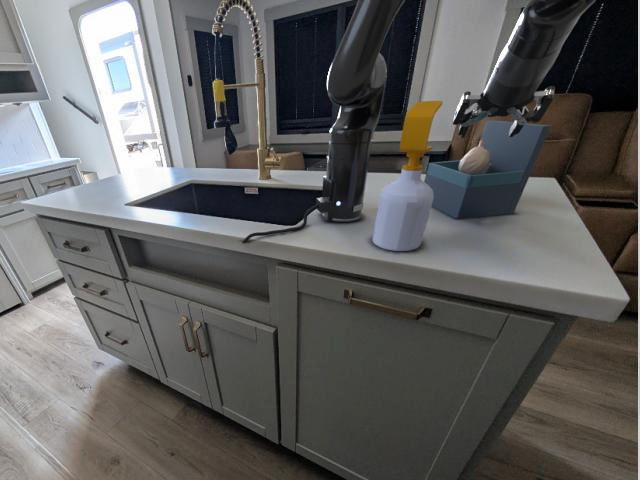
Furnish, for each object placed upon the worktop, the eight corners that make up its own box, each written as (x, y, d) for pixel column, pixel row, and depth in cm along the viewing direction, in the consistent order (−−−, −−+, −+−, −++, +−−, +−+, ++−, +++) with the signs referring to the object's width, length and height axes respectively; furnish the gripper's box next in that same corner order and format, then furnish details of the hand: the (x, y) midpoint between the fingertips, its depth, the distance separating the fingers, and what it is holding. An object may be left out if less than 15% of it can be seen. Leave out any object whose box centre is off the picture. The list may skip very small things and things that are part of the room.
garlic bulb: (492, 178, 73) (506, 140, 68) (474, 182, 71) (487, 144, 66) (464, 173, 78) (475, 138, 73) (447, 177, 76) (457, 141, 71)
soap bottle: (426, 239, 64) (466, 98, 50) (411, 256, 58) (451, 102, 45) (382, 231, 69) (407, 101, 55) (365, 245, 64) (388, 105, 50)
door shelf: (456, 219, 72) (485, 131, 62) (419, 200, 85) (438, 125, 75) (513, 213, 72) (551, 125, 62) (467, 195, 85) (493, 120, 75)
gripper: (582, 40, 49) (530, 117, 64) (475, 52, 55) (450, 119, 70) (576, 82, 48) (525, 149, 63) (468, 89, 54) (444, 149, 69)
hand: (486, 134), depth 66 cm, fingers open, 8 cm apart
